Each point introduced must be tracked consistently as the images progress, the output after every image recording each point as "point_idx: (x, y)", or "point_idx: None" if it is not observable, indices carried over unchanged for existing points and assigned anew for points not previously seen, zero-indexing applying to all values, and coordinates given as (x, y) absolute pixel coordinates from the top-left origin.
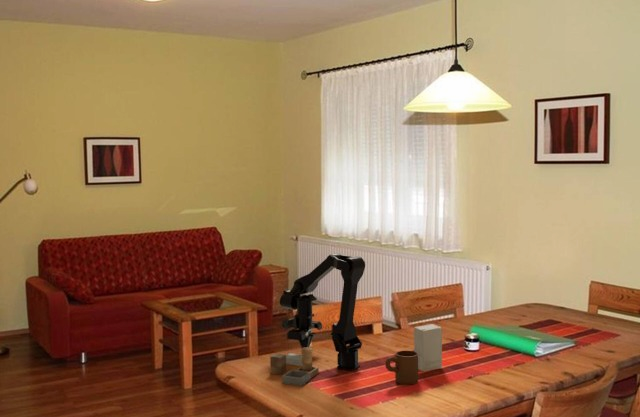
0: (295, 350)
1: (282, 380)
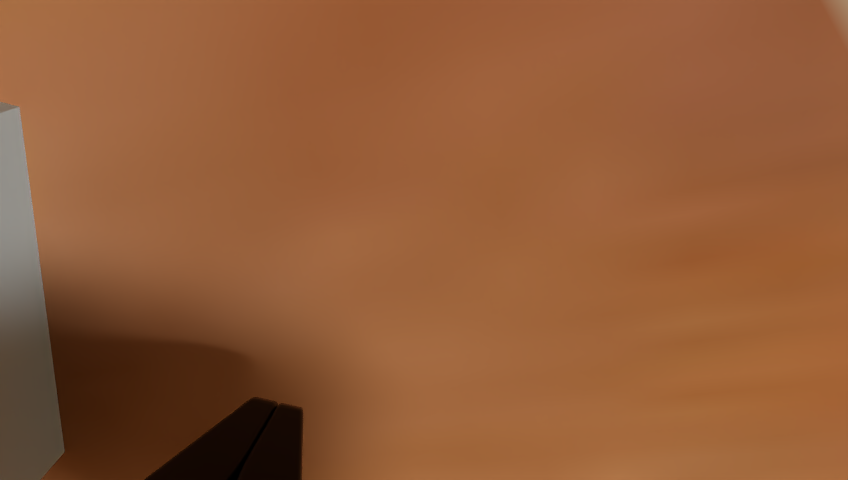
0: (768, 58)
1: None
